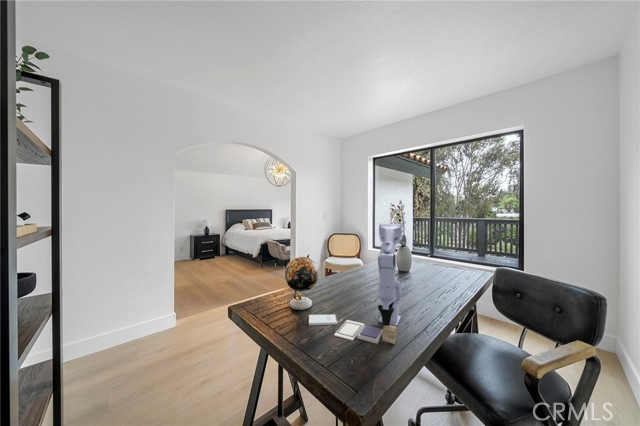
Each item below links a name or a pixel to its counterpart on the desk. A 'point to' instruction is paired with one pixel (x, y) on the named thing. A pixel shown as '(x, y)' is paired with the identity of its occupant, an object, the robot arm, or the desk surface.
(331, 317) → the external hard drive
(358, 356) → the desk surface
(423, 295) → the desk surface
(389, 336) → the stamp
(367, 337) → the ink pad
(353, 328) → the print card
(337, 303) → the desk surface
